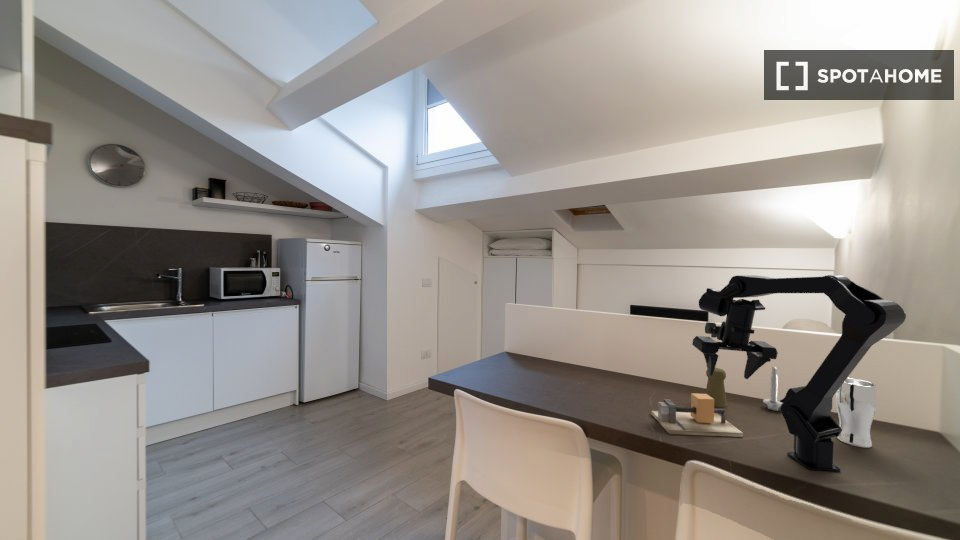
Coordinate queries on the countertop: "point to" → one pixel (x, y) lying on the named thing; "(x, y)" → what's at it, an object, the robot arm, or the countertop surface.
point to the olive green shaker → (717, 387)
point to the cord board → (692, 421)
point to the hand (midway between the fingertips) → (727, 376)
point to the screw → (773, 392)
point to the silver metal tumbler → (856, 411)
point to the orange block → (702, 407)
